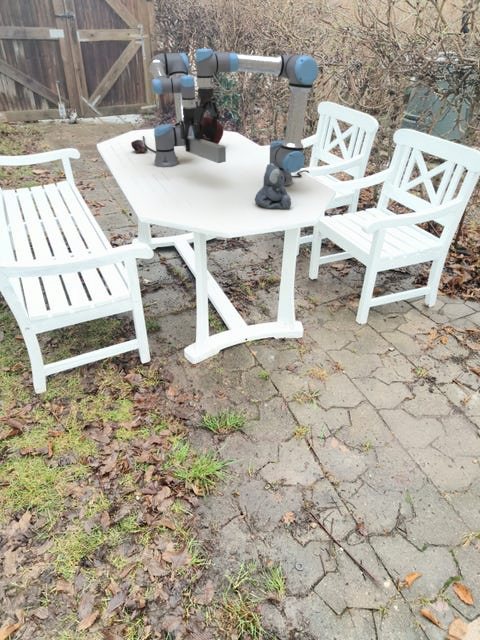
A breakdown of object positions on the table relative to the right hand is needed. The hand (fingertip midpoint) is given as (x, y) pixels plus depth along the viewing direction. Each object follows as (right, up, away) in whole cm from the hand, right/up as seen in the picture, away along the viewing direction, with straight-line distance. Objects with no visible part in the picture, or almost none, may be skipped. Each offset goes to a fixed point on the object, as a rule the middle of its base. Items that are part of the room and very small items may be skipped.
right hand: (207, 136), depth 220 cm
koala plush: (+32, -31, +11) cm, 46 cm away
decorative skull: (-8, +37, +110) cm, 116 cm away
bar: (-4, +3, +36) cm, 36 cm away
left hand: (-13, +10, +44) cm, 47 cm away
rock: (-56, +29, +99) cm, 117 cm away
